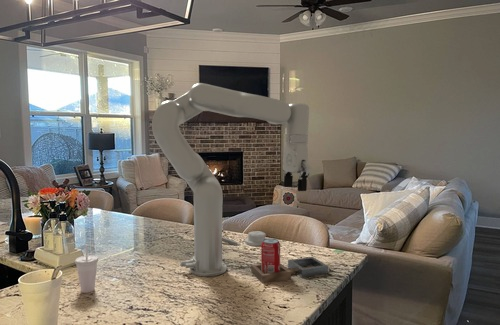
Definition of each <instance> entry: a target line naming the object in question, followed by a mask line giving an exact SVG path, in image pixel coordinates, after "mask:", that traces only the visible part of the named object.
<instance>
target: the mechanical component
mask: <svg viewBox="0 0 500 325" xmlns="http://www.w3.org/2000/svg"><path fill="white" fill-rule="evenodd" d="M264 239H268V238H267V237H266V233H265V232H264V231H259V230H255V231H249V232H248V233H247V238H245V240H244V242H245V244H246V245H249V246H253V247H254V246H255V247H261V244H262V242H263V240H264Z"/></svg>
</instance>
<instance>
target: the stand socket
mask: <svg viewBox="0 0 500 325" xmlns="http://www.w3.org/2000/svg"><path fill="white" fill-rule="evenodd" d="M250 273H251V274H252V275H253V276H254V277H255V278H256V279H257V280H258V281H259V282H260V283H261V284H267V283H274V282H281V281H286V280H287V281H288V280H291V279H292V274H291V271H290V270H288V269H287V266H284V265H283V264H282V263H280V272H274V273H267V274H264V273H263V272H262V271H261V263H256V264H251V265H250Z"/></svg>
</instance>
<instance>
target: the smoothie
mask: <svg viewBox="0 0 500 325" xmlns="http://www.w3.org/2000/svg"><path fill="white" fill-rule="evenodd" d="M84 249H85V250H84V251H85V255H82V256H79V257H77V258H76V259H75V260H74V261H75V265H76V269H77V276H78V280H79V285H80V286H79V288H80V292H81V293H85V294H86V293H91V292H94V291H95V289H96V278H97V267H98V262H99V256H97V255H89V254H88V244H85V247H84Z"/></svg>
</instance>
